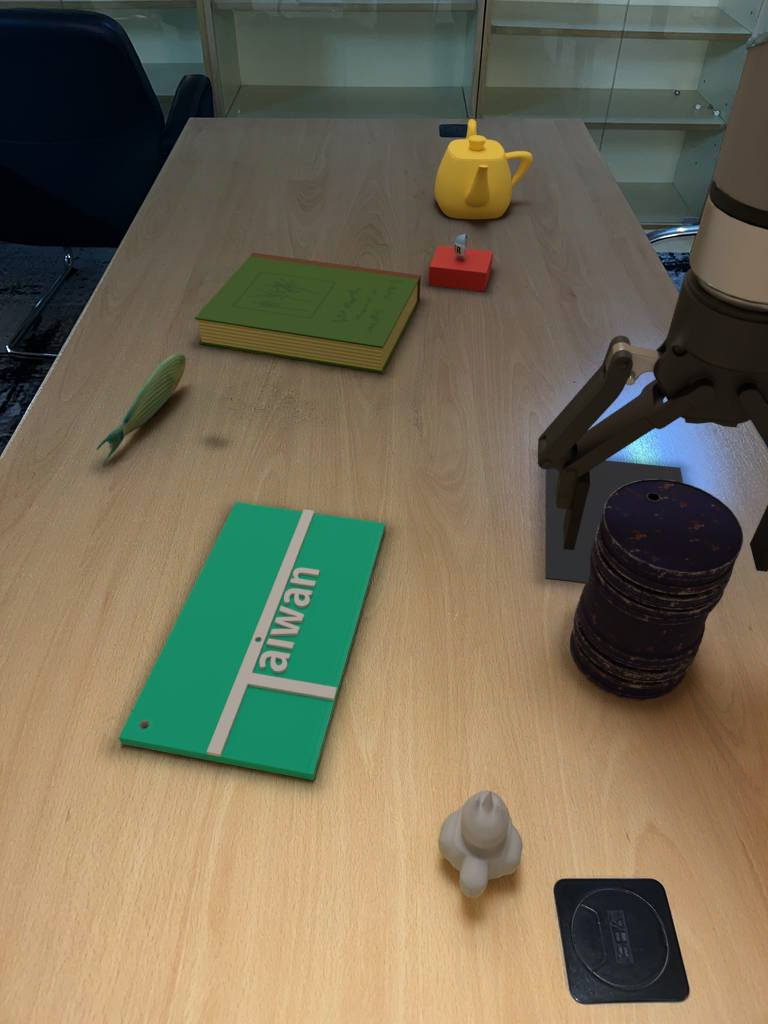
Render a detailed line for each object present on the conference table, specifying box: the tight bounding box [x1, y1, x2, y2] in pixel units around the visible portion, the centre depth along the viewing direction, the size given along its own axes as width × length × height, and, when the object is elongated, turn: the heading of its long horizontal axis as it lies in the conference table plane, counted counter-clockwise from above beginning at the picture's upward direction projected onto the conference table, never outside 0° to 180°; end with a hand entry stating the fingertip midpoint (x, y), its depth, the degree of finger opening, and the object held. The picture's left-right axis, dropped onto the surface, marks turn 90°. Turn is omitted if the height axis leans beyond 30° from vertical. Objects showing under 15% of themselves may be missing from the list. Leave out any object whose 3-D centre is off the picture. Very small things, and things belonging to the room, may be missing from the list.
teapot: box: [433, 118, 534, 220], centre depth 131 cm, size 22×16×11 cm
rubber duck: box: [437, 789, 524, 899], centre depth 52 cm, size 5×7×8 cm
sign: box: [118, 501, 386, 781], centre depth 69 cm, size 27×1×15 cm
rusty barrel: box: [569, 479, 744, 701], centre depth 62 cm, size 10×10×15 cm
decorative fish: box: [96, 352, 220, 466], centre depth 88 cm, size 7×18×10 cm
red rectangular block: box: [428, 233, 494, 292], centre depth 114 cm, size 8×7×6 cm
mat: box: [544, 459, 684, 584], centre depth 79 cm, size 18×14×1 cm
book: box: [194, 252, 421, 374], centre depth 105 cm, size 25×19×4 cm
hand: (662, 547), depth 59 cm, fingers open, 13 cm apart
